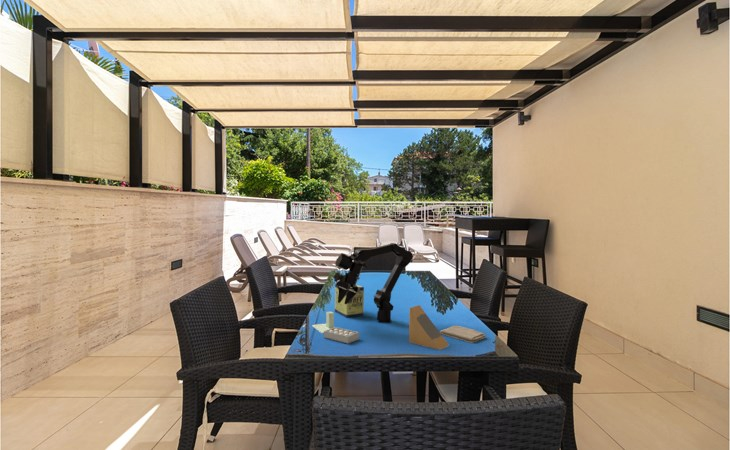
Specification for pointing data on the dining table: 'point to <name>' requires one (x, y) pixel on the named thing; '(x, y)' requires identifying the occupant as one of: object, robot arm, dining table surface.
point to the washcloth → (463, 333)
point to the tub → (341, 335)
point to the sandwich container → (424, 330)
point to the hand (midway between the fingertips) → (342, 303)
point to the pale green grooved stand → (328, 324)
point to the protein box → (350, 304)
